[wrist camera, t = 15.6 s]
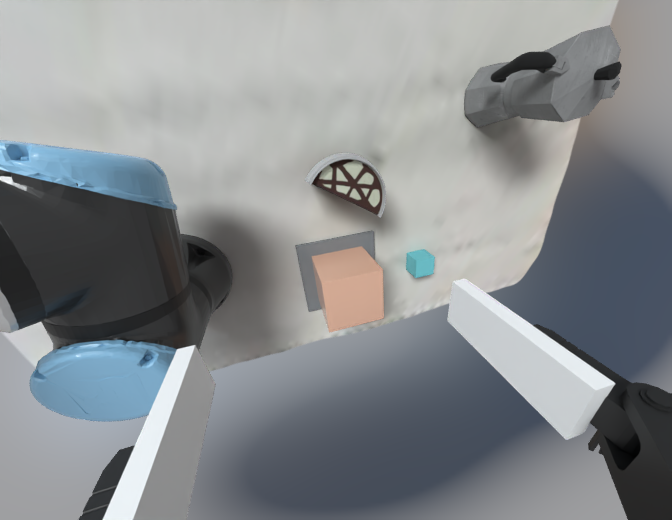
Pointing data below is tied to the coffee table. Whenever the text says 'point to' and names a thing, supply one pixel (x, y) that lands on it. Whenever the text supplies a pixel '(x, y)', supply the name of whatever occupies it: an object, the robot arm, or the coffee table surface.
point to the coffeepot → (547, 81)
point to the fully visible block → (420, 263)
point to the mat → (322, 248)
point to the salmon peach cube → (349, 287)
